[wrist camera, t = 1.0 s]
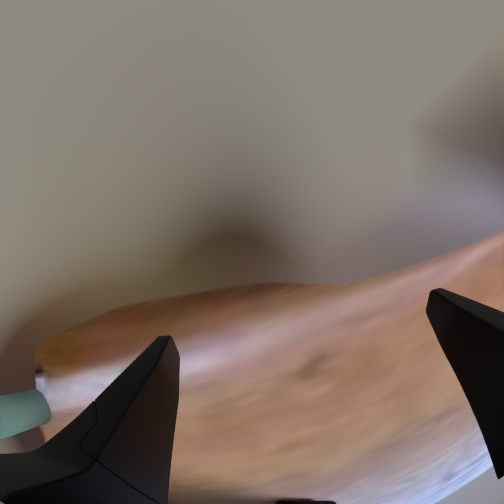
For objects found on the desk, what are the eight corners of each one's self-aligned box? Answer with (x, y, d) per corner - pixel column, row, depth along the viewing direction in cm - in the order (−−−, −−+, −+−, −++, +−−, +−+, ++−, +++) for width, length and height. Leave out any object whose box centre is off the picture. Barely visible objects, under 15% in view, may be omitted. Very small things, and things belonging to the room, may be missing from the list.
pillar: (55, 421, 22) (-21, 448, 10) (36, 424, 22) (-34, 447, 10) (40, 386, 23) (-40, 401, 11) (22, 391, 23) (-51, 404, 11)
